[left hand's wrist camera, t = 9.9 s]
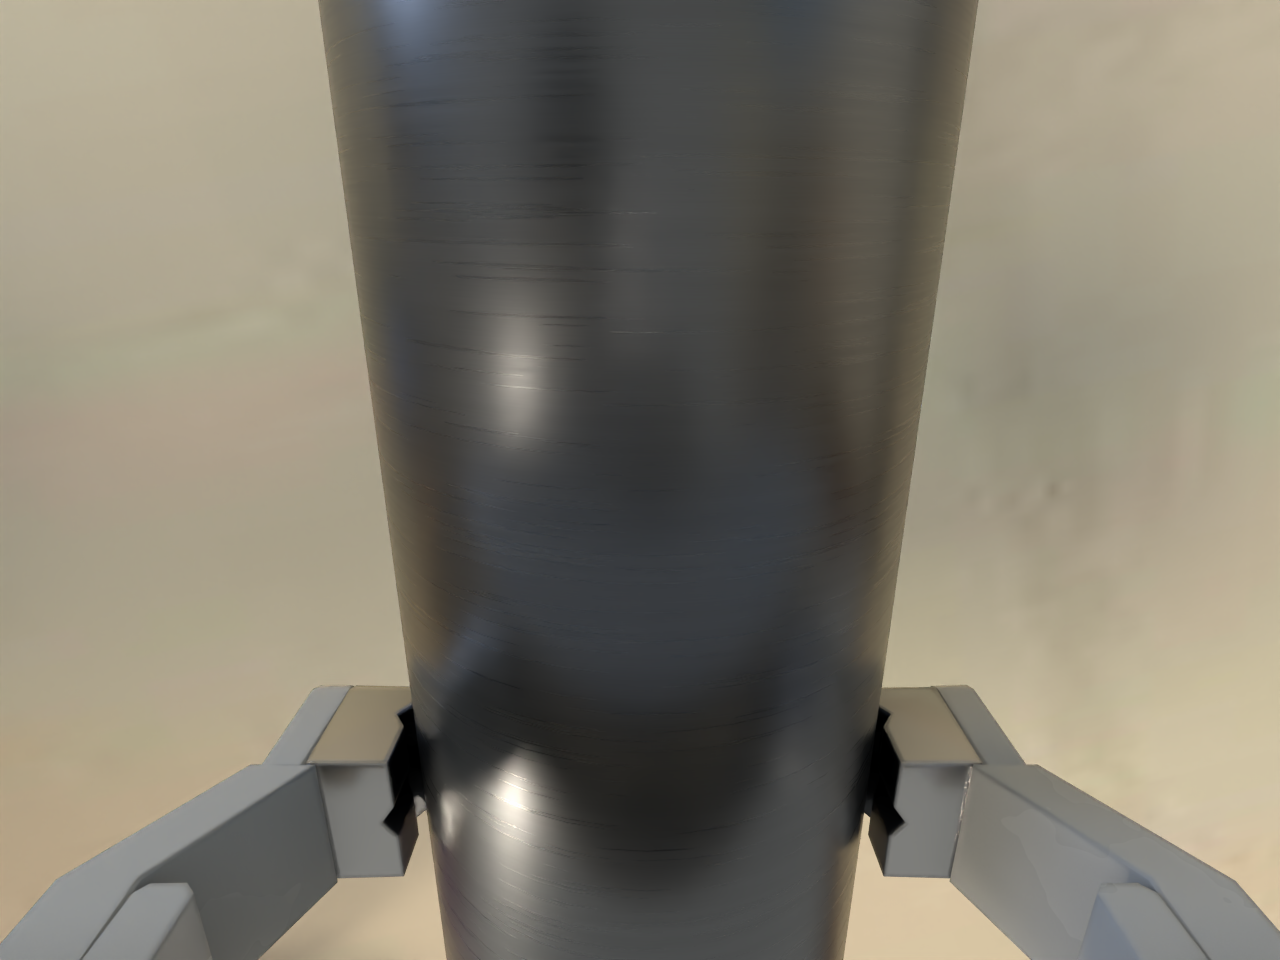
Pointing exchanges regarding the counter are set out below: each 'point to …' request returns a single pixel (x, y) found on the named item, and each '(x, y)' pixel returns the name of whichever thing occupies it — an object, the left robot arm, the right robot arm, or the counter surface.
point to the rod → (646, 440)
